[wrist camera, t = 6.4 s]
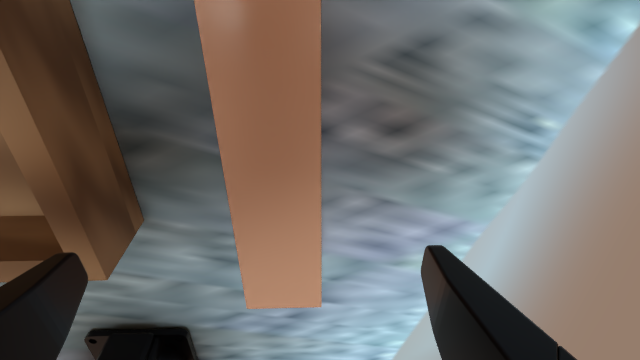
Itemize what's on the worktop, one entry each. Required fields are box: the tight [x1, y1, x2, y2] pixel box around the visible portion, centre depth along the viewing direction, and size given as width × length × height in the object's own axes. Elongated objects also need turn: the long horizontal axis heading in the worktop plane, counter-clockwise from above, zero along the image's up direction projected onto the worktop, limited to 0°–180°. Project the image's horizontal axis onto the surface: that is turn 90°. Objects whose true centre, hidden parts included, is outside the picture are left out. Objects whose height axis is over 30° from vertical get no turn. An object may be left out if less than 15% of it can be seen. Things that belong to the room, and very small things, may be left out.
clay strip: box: [194, 0, 321, 309], centre depth 15 cm, size 15×4×4 cm, turn 0°
